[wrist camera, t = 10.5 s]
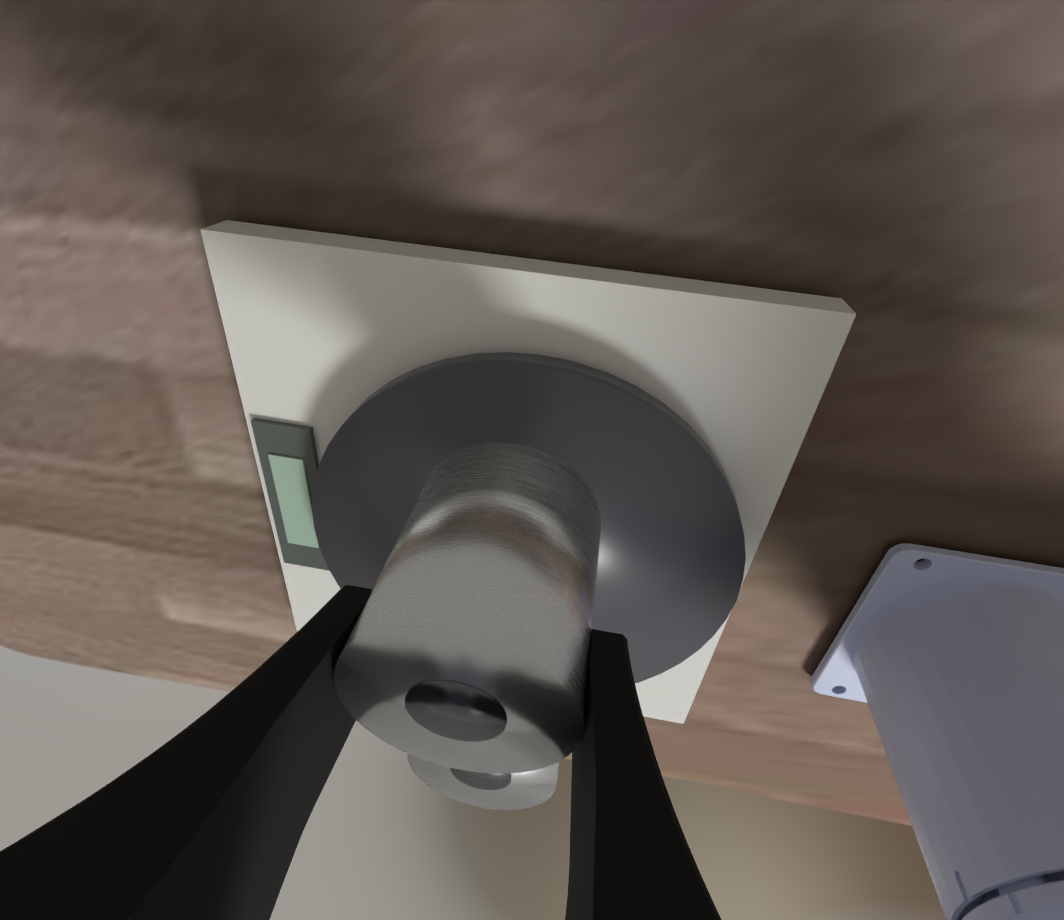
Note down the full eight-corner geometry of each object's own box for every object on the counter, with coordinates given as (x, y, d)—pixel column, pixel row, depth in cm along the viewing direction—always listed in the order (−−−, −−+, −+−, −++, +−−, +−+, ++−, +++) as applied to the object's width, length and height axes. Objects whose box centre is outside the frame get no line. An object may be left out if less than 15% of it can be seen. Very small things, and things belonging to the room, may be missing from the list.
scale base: (842, 298, 15) (861, 320, 13) (681, 698, 25) (684, 732, 24) (227, 219, 16) (190, 232, 15) (314, 629, 26) (297, 658, 25)
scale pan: (809, 392, 15) (817, 407, 14) (683, 704, 23) (684, 722, 22) (292, 319, 16) (277, 330, 15) (346, 640, 24) (337, 656, 23)
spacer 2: (577, 598, 19) (560, 744, 15) (569, 678, 21) (552, 822, 17) (450, 581, 19) (398, 718, 15) (456, 661, 22) (414, 797, 18)
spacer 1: (605, 449, 12) (585, 651, 8) (597, 586, 15) (580, 792, 11) (409, 437, 13) (301, 617, 9) (435, 571, 15) (361, 758, 11)
